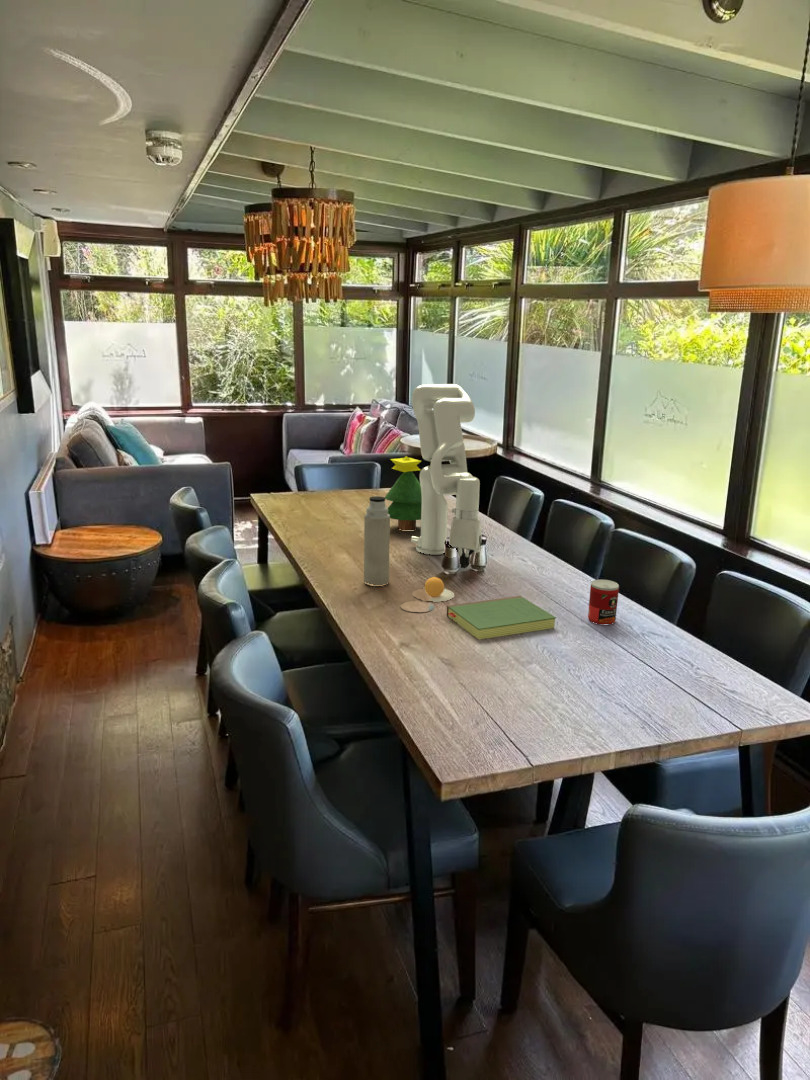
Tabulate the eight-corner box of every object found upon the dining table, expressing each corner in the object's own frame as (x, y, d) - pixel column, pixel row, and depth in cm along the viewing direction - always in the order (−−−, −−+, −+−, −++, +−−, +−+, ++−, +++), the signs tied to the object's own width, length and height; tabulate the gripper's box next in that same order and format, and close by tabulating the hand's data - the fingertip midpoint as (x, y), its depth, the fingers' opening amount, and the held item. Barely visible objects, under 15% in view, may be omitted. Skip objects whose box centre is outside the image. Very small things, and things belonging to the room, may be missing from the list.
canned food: (600, 627, 216) (604, 589, 213) (581, 617, 222) (584, 581, 220) (621, 623, 219) (625, 586, 216) (602, 613, 226) (605, 577, 223)
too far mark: (394, 609, 226) (394, 608, 226) (409, 598, 234) (409, 598, 234) (425, 615, 221) (425, 614, 221) (439, 604, 230) (439, 604, 230)
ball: (425, 572, 236) (429, 582, 241) (420, 589, 233) (425, 599, 238) (443, 574, 234) (448, 584, 239) (439, 591, 231) (443, 601, 236)
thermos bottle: (376, 577, 253) (377, 493, 246) (393, 583, 248) (395, 497, 241) (358, 582, 248) (359, 497, 240) (376, 588, 243) (377, 501, 235)
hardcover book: (519, 607, 231) (520, 595, 230) (555, 630, 214) (556, 617, 213) (444, 618, 221) (444, 605, 220) (475, 642, 205) (476, 629, 204)
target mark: (404, 597, 235) (404, 596, 235) (423, 585, 247) (423, 584, 247) (443, 604, 230) (443, 604, 230) (460, 592, 241) (461, 591, 241)
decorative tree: (440, 531, 311) (442, 457, 303) (400, 538, 301) (402, 461, 293) (412, 521, 326) (414, 450, 318) (373, 527, 316) (374, 453, 308)
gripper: (441, 513, 257) (439, 566, 262) (483, 519, 250) (481, 573, 255) (450, 509, 263) (448, 560, 268) (492, 514, 257) (489, 567, 262)
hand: (464, 566), depth 262 cm, fingers closed
